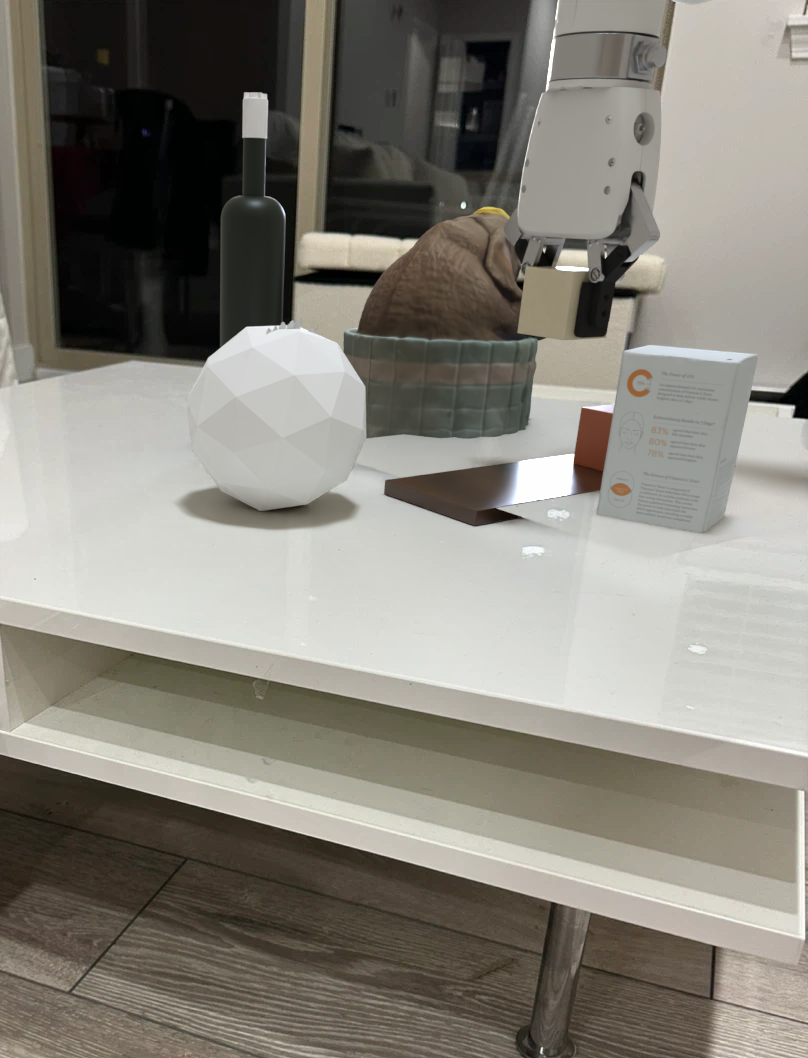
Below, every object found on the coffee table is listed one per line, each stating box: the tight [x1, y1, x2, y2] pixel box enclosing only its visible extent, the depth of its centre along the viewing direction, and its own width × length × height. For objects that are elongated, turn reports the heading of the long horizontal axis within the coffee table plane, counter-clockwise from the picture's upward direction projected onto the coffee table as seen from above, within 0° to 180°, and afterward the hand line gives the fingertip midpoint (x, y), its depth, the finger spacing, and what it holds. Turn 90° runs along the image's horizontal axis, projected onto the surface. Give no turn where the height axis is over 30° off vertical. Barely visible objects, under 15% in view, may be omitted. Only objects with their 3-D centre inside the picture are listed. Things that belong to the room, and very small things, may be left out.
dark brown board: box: [383, 453, 603, 526], centre depth 91 cm, size 26×11×1 cm, turn 123°
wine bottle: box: [219, 91, 287, 349], centre depth 96 cm, size 6×6×30 cm
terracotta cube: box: [573, 403, 615, 471], centre depth 94 cm, size 5×5×5 cm
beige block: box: [517, 266, 608, 341], centre depth 84 cm, size 5×5×5 cm
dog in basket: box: [342, 206, 547, 440], centre depth 111 cm, size 23×25×22 cm
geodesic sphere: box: [186, 317, 367, 512], centre depth 82 cm, size 15×14×14 cm
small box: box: [596, 344, 759, 534], centre depth 78 cm, size 8×6×13 cm
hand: (562, 330), depth 85 cm, fingers closed on beige block, 5 cm apart
